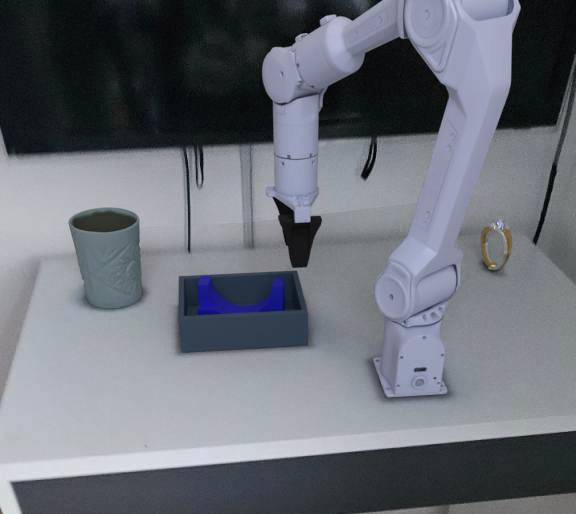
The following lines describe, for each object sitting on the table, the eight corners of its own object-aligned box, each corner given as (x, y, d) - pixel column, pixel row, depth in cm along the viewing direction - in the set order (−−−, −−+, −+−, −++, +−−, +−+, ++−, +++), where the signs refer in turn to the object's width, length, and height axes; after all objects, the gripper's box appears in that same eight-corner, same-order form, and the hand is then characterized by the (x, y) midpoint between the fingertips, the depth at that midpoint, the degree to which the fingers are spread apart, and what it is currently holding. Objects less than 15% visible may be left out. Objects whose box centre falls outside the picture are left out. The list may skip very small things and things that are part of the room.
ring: (472, 262, 128) (480, 214, 122) (490, 259, 128) (498, 211, 123) (492, 279, 123) (501, 229, 117) (510, 276, 123) (519, 227, 118)
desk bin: (307, 345, 107) (308, 312, 103) (181, 352, 106) (178, 318, 102) (296, 302, 117) (297, 270, 114) (182, 307, 116) (178, 275, 112)
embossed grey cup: (79, 287, 121) (65, 211, 113) (142, 278, 124) (132, 203, 116) (87, 315, 114) (72, 236, 106) (154, 305, 116) (144, 227, 108)
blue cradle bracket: (199, 328, 109) (195, 289, 105) (204, 314, 113) (200, 275, 109) (282, 331, 109) (281, 292, 105) (284, 316, 112) (284, 278, 108)
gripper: (260, 138, 103) (263, 237, 112) (270, 172, 93) (272, 278, 102) (311, 136, 104) (310, 234, 113) (327, 169, 93) (325, 275, 102)
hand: (295, 255), depth 107 cm, fingers open, 7 cm apart
